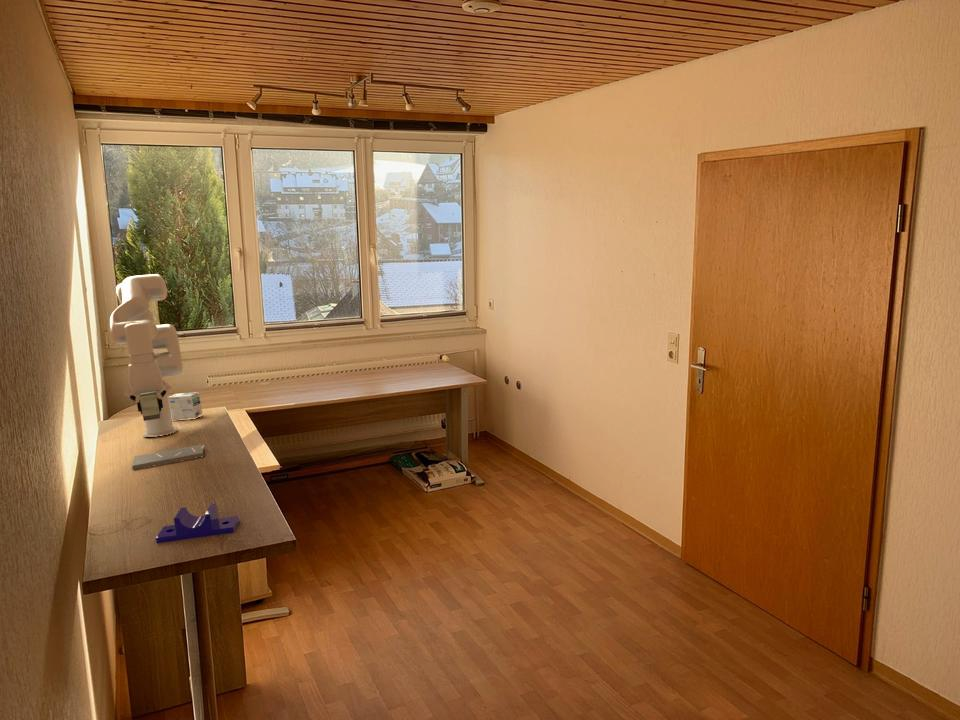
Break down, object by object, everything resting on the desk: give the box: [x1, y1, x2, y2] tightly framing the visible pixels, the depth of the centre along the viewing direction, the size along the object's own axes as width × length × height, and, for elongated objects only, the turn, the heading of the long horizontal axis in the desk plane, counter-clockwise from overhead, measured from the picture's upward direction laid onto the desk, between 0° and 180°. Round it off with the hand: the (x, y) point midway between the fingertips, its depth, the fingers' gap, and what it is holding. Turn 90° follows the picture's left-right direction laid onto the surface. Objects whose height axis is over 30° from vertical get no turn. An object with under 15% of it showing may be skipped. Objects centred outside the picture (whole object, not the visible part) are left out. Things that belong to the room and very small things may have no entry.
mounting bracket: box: [155, 502, 240, 544], centre depth 176 cm, size 18×7×6 cm, turn 99°
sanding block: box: [140, 391, 160, 422], centre depth 241 cm, size 9×5×8 cm, turn 23°
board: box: [131, 444, 205, 471], centre depth 243 cm, size 12×23×2 cm, turn 112°
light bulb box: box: [168, 391, 203, 420], centre depth 300 cm, size 11×7×11 cm, turn 84°
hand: (151, 411), depth 241 cm, fingers closed on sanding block, 5 cm apart
